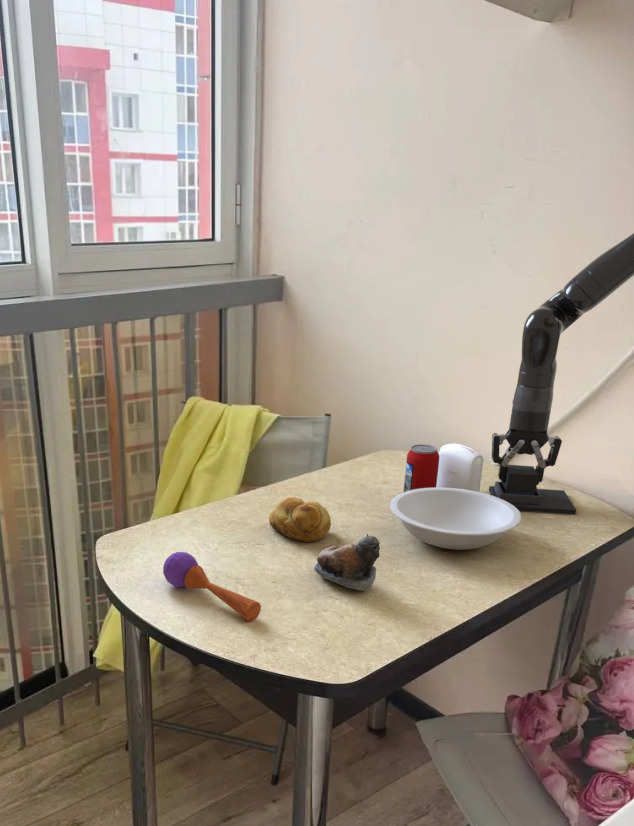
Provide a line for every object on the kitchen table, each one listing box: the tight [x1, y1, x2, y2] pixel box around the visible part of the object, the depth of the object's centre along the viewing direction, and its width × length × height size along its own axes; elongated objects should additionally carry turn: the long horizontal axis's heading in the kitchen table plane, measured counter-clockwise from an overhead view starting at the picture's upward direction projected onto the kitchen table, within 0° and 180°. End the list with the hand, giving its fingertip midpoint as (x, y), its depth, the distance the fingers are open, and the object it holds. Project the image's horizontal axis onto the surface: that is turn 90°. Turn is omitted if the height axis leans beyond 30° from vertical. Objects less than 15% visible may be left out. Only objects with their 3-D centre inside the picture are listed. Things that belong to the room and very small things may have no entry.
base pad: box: [488, 481, 577, 515], centre depth 167 cm, size 16×12×3 cm
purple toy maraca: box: [162, 551, 262, 622], centre depth 126 cm, size 6×6×20 cm
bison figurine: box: [313, 533, 381, 592], centre depth 130 cm, size 12×7×10 cm, turn 44°
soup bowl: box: [389, 487, 522, 551], centre depth 147 cm, size 24×24×7 cm
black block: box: [503, 464, 539, 493], centre depth 166 cm, size 6×6×4 cm
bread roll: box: [268, 496, 332, 543], centre depth 150 cm, size 13×10×8 cm
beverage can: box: [402, 444, 440, 493], centre depth 165 cm, size 7×7×12 cm
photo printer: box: [436, 443, 484, 492], centre depth 166 cm, size 10×4×12 cm, turn 32°
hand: (519, 482), depth 166 cm, fingers open, 6 cm apart
